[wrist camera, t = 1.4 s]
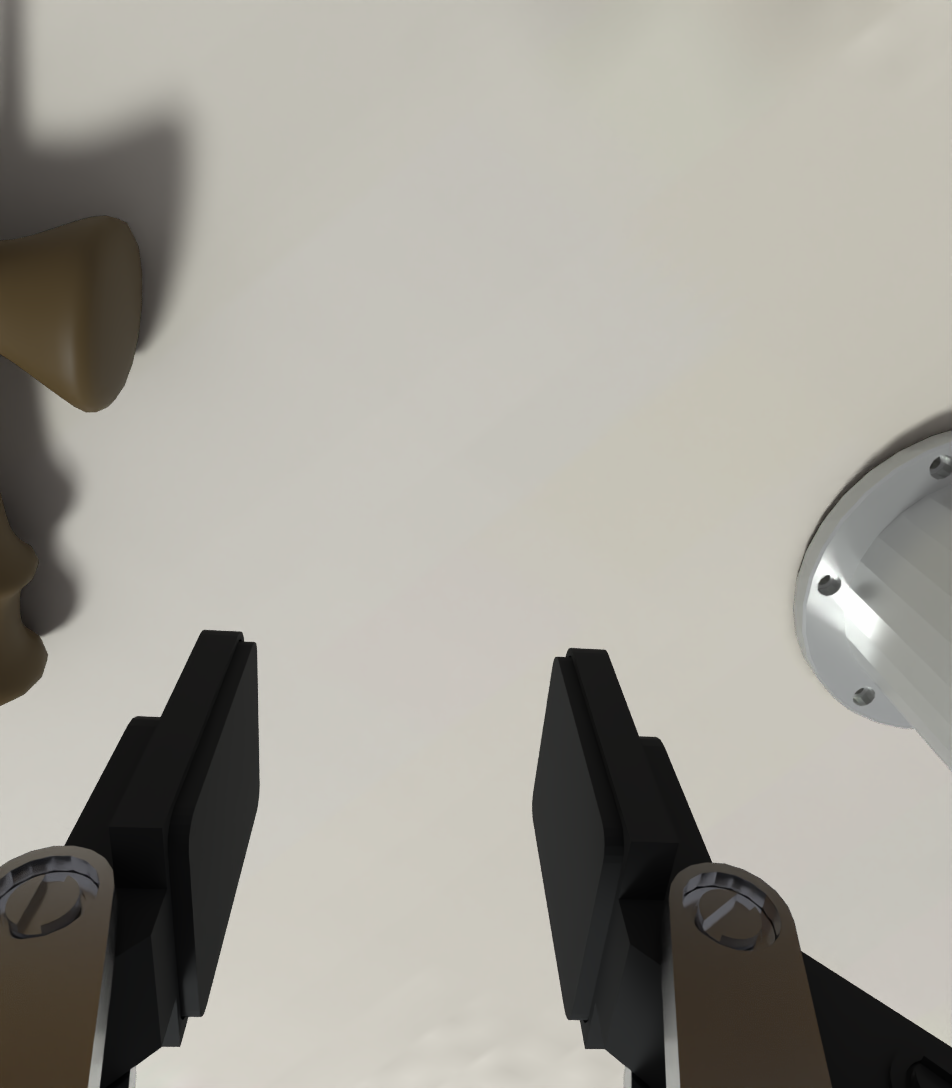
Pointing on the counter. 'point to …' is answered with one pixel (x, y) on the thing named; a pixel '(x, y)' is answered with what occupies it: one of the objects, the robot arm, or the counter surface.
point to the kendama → (62, 370)
